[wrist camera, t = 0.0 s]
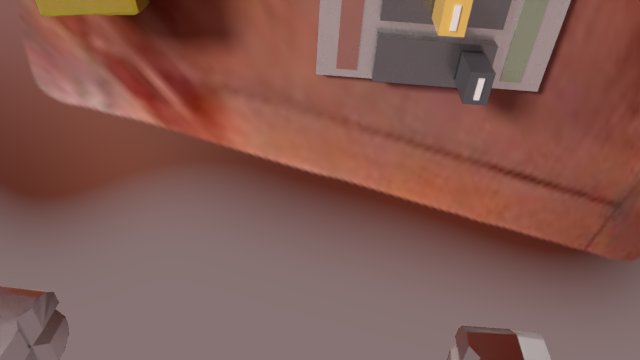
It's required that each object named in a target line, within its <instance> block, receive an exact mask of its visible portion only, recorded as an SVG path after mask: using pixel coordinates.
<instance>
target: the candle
mask: <svg viewBox="0 0 640 360" xmlns="http://www.w3.org/2000/svg"><path fill="white" fill-rule="evenodd" d="M35 1H36V4H37V7H38V9H39V11H40V13H41V15H42V16H72V15H136V14H138V13H140V12H141V11H142V10H143V9H144V8H145V7H146V6H147V5H148V4H149V3H150V1H151V0H35Z"/></svg>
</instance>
